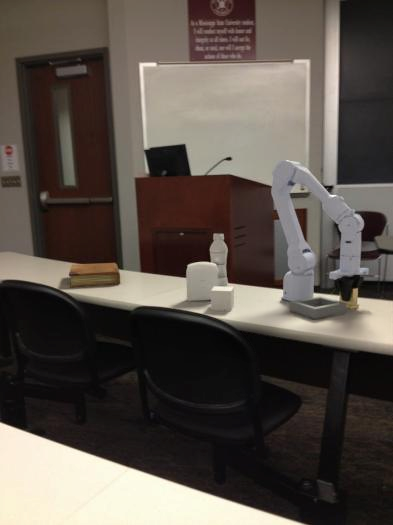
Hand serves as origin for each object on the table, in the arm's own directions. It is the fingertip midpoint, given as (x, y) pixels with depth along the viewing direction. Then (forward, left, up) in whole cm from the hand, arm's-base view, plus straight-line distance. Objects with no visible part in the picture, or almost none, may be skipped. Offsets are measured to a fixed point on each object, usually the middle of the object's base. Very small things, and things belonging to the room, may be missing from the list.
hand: (348, 300), depth 132 cm
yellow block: (0, 0, -2) cm, 2 cm away
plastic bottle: (-40, -20, -2) cm, 45 cm away
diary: (-82, -52, -3) cm, 97 cm away
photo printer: (-31, -32, -2) cm, 45 cm away
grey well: (0, -12, -2) cm, 13 cm away
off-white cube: (-19, -32, -2) cm, 38 cm away
